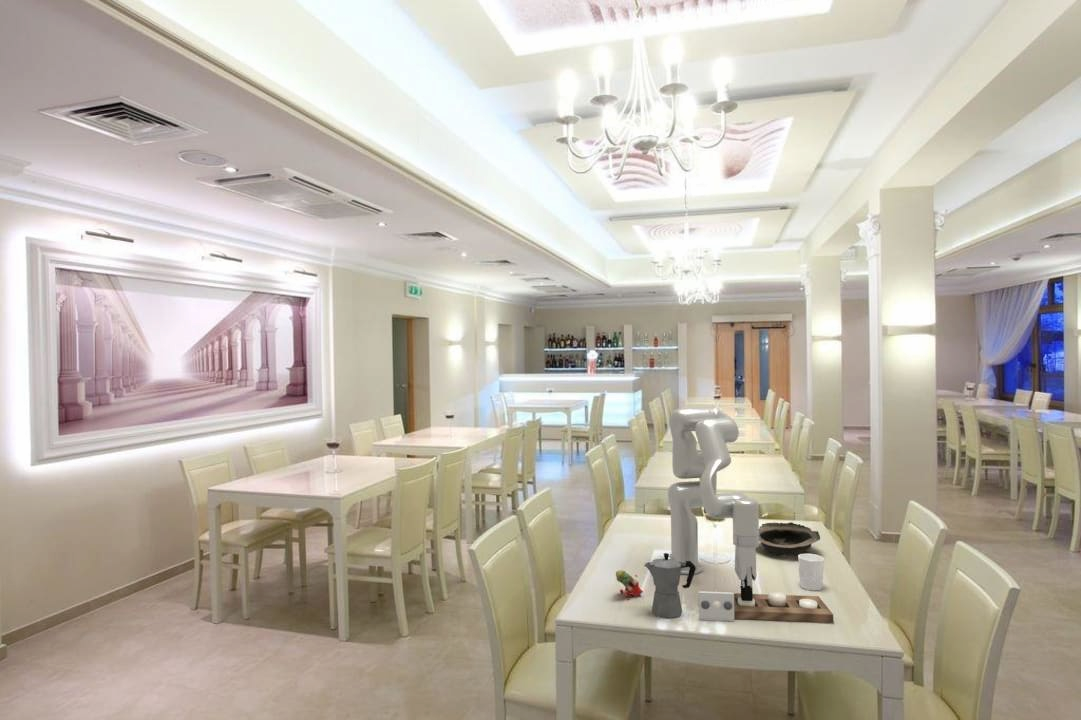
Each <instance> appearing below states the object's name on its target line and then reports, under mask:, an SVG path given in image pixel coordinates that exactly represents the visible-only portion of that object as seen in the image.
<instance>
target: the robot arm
mask: <svg viewBox="0 0 1081 720" xmlns="http://www.w3.org/2000/svg"><path fill="white" fill-rule="evenodd" d="M668 420H669V421H668V424H669V430H670V433H671V438H672V472H673V475H674V477H676V478H677V479H681V480H684V479H685V480H688V481H678V482H676V483H673V484H671V485H670V486H669V487H668V490H667V497H668V498H667V499H668V504H669V511H670V546H671V547H670V549H671V550H670V551H671V552H670V554H669V557H668V559H674V560H677V561H691V562H692V563H693V564H694V565H695V567H696V570H695V573H694V575H696V574H700V573H702V572H703V569H704V568H703V565H702V564H701V563H699V539H698V537H699V534H698V533H699V531H698V529H699V527H698V524H699V523H698V519H697V516H696V515H695V514H694V513H693V511H692V509H697V508H699V509H700V508H704V510H705V513H706V514H707V515H708V516H709V518H711V519H717V520H718V519H730V518H731V519H732V543H733V544H732V545H734V546H735V548H734V573H735V574H736V576H737V578H738V580H740V593H741V599H742V601H753V594H754V593H753V589H754V588H753V581H756V580H757V553H756V548H759V546H760V541H759V527H760V526H759V525H760V524H759V523H760V519H759V516H760V515H759V512H760V511H759V503H758V501H757V500H756V499H754V498H751V497H748V496H747V494H744V493H742V492H730V493H729V492H727V493H717V481H718V480H717V477H718V476H717V473H718V472H720V471H722V470H724V469H725V468H727V467H729V465H731V463H732V457H731V454H730V452H729V449H728V446H727V443H729V444H730V443H734V442H736V441H737V440H738V439H739V437H740V436H739V434H740V432H739V427H738V425H737V422H736V421H735V420H734V418H732V417H731V416H730V415H728V414H727V413H725V412H724V411H722V410H721V409H720V408H718V407H715V406H703V407H702V406H699V407H698V406H694V407H691V406H689V407H680V408H677V409H674V410H673V411H672V412H671V413H670V416H669V419H668ZM693 432H695V435H694V433H693ZM697 442H698V443H697ZM697 444H698V445H699V449H700V451H698V450H697V448H698V447H697V446H698V445H697ZM689 479H691V480H690V481H689ZM692 479H699V480H694V481H693V480H692ZM662 558H664V556H658V559H662ZM689 570H690V567H685V568H681V573H680V575H689Z"/></svg>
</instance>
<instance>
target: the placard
mask: <svg viewBox="0 0 1081 720" xmlns="http://www.w3.org/2000/svg"><path fill="white" fill-rule="evenodd" d="M734 593H735V592H726V591H725V592H722V591H703V590H702V591H699V590H698V620H699V621H720V622H721V621H722V622H725V621H726V622H735V619H734Z"/></svg>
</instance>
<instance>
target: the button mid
mask: <svg viewBox="0 0 1081 720" xmlns="http://www.w3.org/2000/svg"><path fill="white" fill-rule="evenodd" d="M767 594H768V603H769V604H770V605H772V606H776V607H783V606H786V595H787V594H786V593H784V592H781V591H777V590H776V591H775V590H774V591H771V590H770V591H769V592H768V593H767Z"/></svg>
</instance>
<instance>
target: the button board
mask: <svg viewBox="0 0 1081 720" xmlns="http://www.w3.org/2000/svg"><path fill="white" fill-rule="evenodd" d="M733 593H734V620H744V621H746V620H748V621H769V622H770V621H773V622H792V623H793V622H797V623H819V624H820V623H822V624H834V613H832V611H831V610H830V609H829V607H828V606H827V604H825V602H824V601H823V600H822V599H821V598H820V596H819V595H818V596H817V595H793V594H791V595H790V594H785V595H786V606H783V607H776V606H772V605H770V604H769V603H768V593H767V594H764V593H753V599H754V600H755V606H738V598H739V597H741V592H740V593H738V592H736V593H735V592H733ZM800 599H811V600H814V601H816V602H817V609H814V608H800V606H799V600H800Z"/></svg>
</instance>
